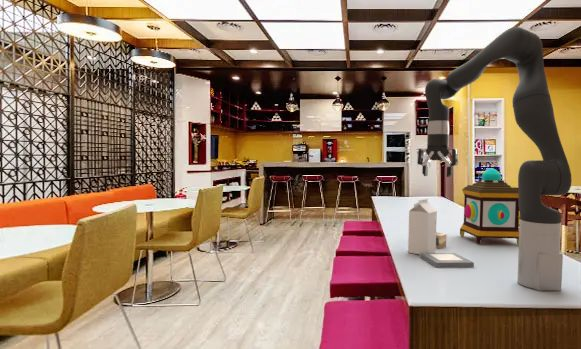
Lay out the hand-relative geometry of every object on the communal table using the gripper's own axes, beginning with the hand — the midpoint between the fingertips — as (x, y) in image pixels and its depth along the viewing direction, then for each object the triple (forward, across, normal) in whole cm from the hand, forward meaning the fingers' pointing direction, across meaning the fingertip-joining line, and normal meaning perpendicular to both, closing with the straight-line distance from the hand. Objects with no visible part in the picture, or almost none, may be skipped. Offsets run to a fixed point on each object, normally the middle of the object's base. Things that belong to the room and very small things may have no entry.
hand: (436, 176), depth 144 cm
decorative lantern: (+27, -13, -27) cm, 41 cm away
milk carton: (+27, 0, +13) cm, 30 cm away
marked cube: (+27, -1, -1) cm, 27 cm away
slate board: (+27, -11, +20) cm, 35 cm away
